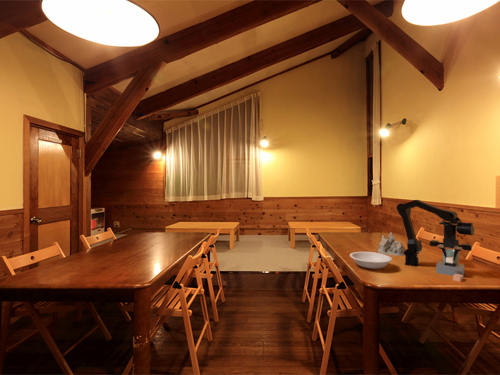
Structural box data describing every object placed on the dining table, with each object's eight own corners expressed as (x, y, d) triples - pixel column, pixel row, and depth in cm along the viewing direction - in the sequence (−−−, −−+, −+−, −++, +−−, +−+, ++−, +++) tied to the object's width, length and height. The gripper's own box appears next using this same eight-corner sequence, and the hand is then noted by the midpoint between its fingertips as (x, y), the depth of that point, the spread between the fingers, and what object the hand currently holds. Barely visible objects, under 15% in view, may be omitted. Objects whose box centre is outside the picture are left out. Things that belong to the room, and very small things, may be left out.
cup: (440, 265, 160) (440, 249, 160) (447, 263, 164) (447, 248, 164) (454, 269, 153) (453, 252, 153) (461, 267, 156) (461, 251, 156)
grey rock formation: (374, 250, 200) (376, 231, 199) (396, 250, 199) (397, 232, 198) (385, 256, 184) (386, 236, 183) (408, 257, 184) (409, 237, 183)
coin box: (436, 272, 147) (436, 264, 147) (438, 268, 154) (438, 260, 154) (463, 277, 139) (463, 268, 139) (464, 273, 146) (464, 264, 146)
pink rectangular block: (453, 280, 136) (453, 275, 136) (455, 278, 139) (455, 273, 139) (460, 281, 134) (460, 277, 134) (462, 279, 137) (462, 275, 137)
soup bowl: (350, 271, 152) (350, 260, 152) (349, 260, 175) (349, 250, 175) (396, 275, 144) (395, 263, 144) (388, 263, 166) (388, 253, 166)
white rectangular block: (446, 262, 146) (446, 257, 146) (447, 260, 149) (447, 256, 149) (452, 263, 144) (452, 258, 144) (454, 261, 147) (454, 257, 147)
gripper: (427, 233, 147) (428, 260, 147) (470, 237, 134) (471, 266, 134) (430, 230, 155) (431, 256, 155) (471, 234, 142) (471, 261, 142)
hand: (450, 260), depth 146 cm, fingers closed on white rectangular block, 3 cm apart
